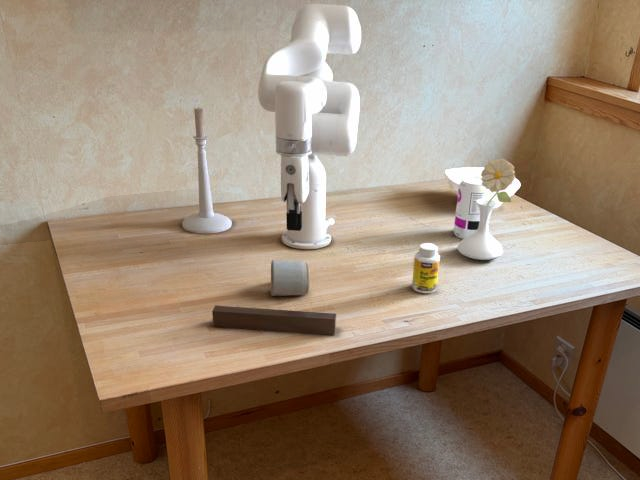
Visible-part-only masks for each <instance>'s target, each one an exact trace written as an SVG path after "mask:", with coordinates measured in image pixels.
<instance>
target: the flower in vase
mask: <svg viewBox="0 0 640 480" xmlns="http://www.w3.org/2000/svg"><path fill="white" fill-rule="evenodd" d="M483 168H484V170H482V173H481V176H482V178H481V180H482V181H483V182H482V183H481V184H482V185H483V187H485V188H486V189H489V191H491V192H496V194H495V195H494V196H493V197H492V198H491V199H479V200H477V201H476V202H477V204H478V206H479V210H480V221H479V227H478V229H477V231H476V232H474V233H473V234H471V235H469V236H468V237H466V238H464V239H461V240H460V241H459V243H458V244H457V249H458V252H459V253H460V254H461V255H463V256H465V257H467V258H470V259H473V260H477V261H478V260H479V261H489V260H495V259H497V258H500V257H501V256H502V255H503V253H504V249H503V246H502V245H501V244H500V242H499V241H498V240H497V239H496V238H495V237H493V235H492V234H491V233H490V231H489V221H490V217H491V214H492V212H493V210H494V209H495V208H494V207H495V206H496V205H497V202H496V201H494V200H492V199H493V198H494V197H495V196H496V195H497V197H498V200H499V201H500V202H503V203H512V200H511V196H509V195H508V194H507V192H505V191H503V190H506V189H507V188H508V187H509V184H511V183H512V181H513V180H514V179H515V178H516V171H515V166H514V165H513V164H512V163H511V162H509V161H508V160H506V159H504V157H501V158H499V159H498V158H495V159H494V160H489V161H488V163H487V164H485V165H484V167H483ZM479 188H480V186H479ZM480 189H481V188H480ZM500 190H501V191H502V192H499V191H500ZM481 191H482V192H484V193H485V194H487V195H488V196H489V197H491V196H490V195H489V194H488V193H487V192H486V191H484V190H483V189H481Z"/></svg>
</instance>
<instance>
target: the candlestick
mask: <svg viewBox="0 0 640 480" xmlns="http://www.w3.org/2000/svg"><path fill="white" fill-rule="evenodd" d="M193 112H194V124H195V135H193V136H192V138H193V139H194V140H195V142H194V143H195V145H196V146H197V179H198V212H197V213H194V214H191V215H189V216H187V217H185V219H183V221H182V223H181V226H182V228H183V229H184V231H187V232H189V233H194V234H203V235H204V234H205V235H206V234H209V235H210V234H217V233H222V232H224V231H227V230H229V229H231V228H232V225H233V223H232V220H231V218H229V216H226V215H224V214H221V213H218V212H214V207H213V200H212V191H211V183H210V175H209V168H208V160H207V151H206V150H205V149H206V148H205V147H206V145H207V139H208V138H209V136H207V135H205V126H204V125H205V123H204V112H203V108H200V107H199V106H197V107H196V108H194V110H193Z"/></svg>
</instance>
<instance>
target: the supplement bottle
mask: <svg viewBox="0 0 640 480" xmlns="http://www.w3.org/2000/svg"><path fill="white" fill-rule="evenodd" d="M438 248H439V247H438V246H437V245H436V244H434V243H430V242H424V243H421V244H420V245H419V248H418V252H416V253H415V254H414V260H413V261H414V262H413V272H412V274H413V275H412V280H411V281H412V282H411V287H412V289H413V290H414V291H415V292H417V293H421V294H430V293H434V292H435V291H437V288H438V279H439V270H440V262H441V255H439V253H438Z"/></svg>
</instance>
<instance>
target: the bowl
mask: <svg viewBox="0 0 640 480" xmlns="http://www.w3.org/2000/svg"><path fill="white" fill-rule="evenodd" d="M482 170H484V167H478V166H477V167H475V166H473V167H454V168H448V169H445V171H444V176H445V179H446V181H447V183H448V185H449V187H450V188H451V189H452V190H453V191H454V192H455V193H456V196H457V197H458V190H459V184H460V182H461V181H462V179H463V178H464V177H481V178H482V176H481V173H482ZM520 188H521V181H520V180H519V179H518V178H516V177H515V179H514V180H513V181H512V183H511V184H509V187H508V188H507V189H506V190H503V191H505V192H507V194H508V195H509V197H512V196H514V195H515V193H516V192H517V191H518V190H519V189H520ZM499 192H502V191H501V190H500V191H499ZM495 194H496V192H491V191H490V196H491V197H490V199H491V198H492V197H493V196H494V195H495ZM492 200H494V201H496V202H497V205H496V206H495V207H494V208H493V209H497V208H499V207H500V206H501V205H502V204H503V203H504V202H500V201H499V200H498V197H497V195H496V196H495V197H494V198H493V199H492Z"/></svg>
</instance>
